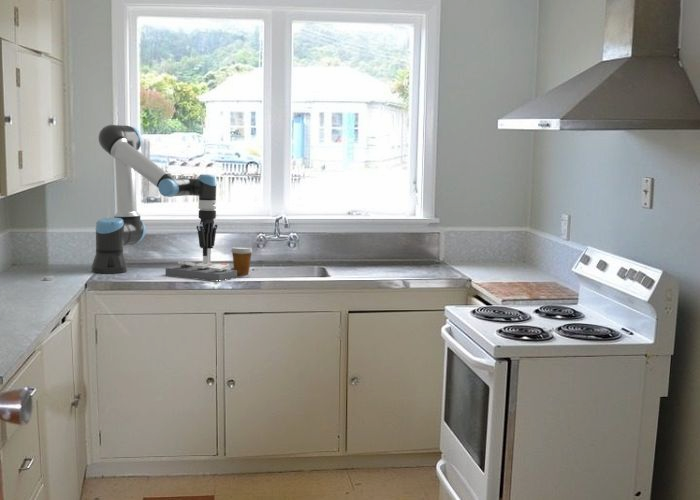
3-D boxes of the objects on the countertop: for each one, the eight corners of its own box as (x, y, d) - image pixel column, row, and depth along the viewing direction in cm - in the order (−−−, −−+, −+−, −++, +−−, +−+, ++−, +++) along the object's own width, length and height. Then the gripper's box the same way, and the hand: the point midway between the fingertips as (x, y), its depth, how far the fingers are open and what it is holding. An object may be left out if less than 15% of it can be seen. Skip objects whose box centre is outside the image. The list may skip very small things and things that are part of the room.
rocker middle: (194, 267, 370) (194, 264, 370) (203, 264, 376) (203, 261, 376) (203, 268, 368) (202, 265, 368) (212, 265, 374) (212, 262, 374)
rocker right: (212, 270, 366) (211, 267, 366) (220, 265, 372) (220, 262, 372) (220, 271, 364) (220, 268, 364) (229, 266, 370) (229, 263, 370)
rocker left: (177, 263, 373) (178, 260, 373) (186, 265, 380) (187, 262, 380) (185, 264, 372) (186, 261, 372) (194, 265, 378) (195, 262, 378)
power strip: (165, 275, 371) (165, 266, 370) (184, 271, 383) (184, 263, 383) (219, 281, 359) (219, 272, 359) (237, 277, 372) (237, 269, 371)
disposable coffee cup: (248, 276, 377) (248, 249, 375) (227, 274, 379) (228, 248, 377) (254, 273, 386) (255, 247, 385) (234, 272, 388) (235, 246, 386)
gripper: (205, 210, 363) (205, 265, 366) (223, 209, 376) (222, 262, 378) (191, 209, 367) (190, 263, 369) (208, 208, 379) (208, 260, 381)
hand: (206, 262), depth 374 cm, fingers closed, pressing on rocker middle
